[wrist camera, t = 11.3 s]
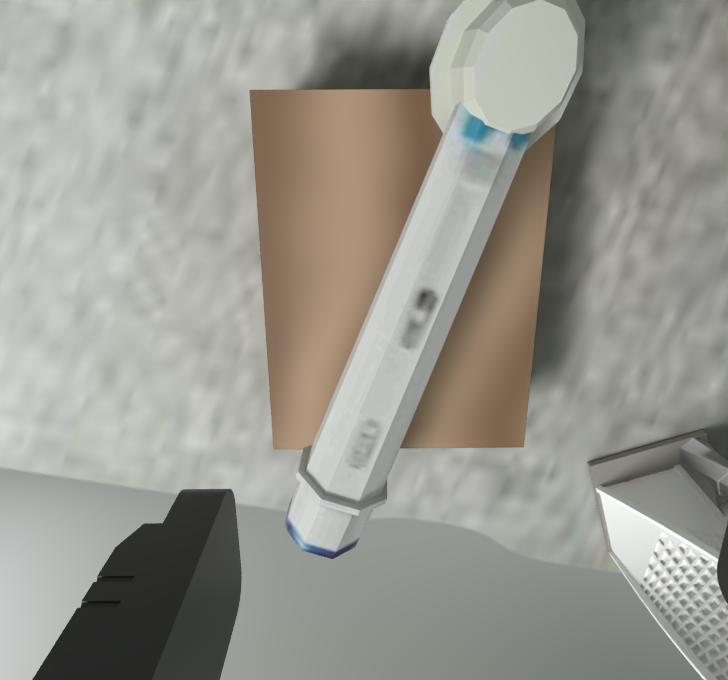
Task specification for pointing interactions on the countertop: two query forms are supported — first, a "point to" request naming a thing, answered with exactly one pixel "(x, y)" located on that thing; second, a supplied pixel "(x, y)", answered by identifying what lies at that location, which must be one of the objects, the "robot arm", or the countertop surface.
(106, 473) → the countertop surface
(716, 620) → the skyscraper
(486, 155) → the white handheld device
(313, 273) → the stand
